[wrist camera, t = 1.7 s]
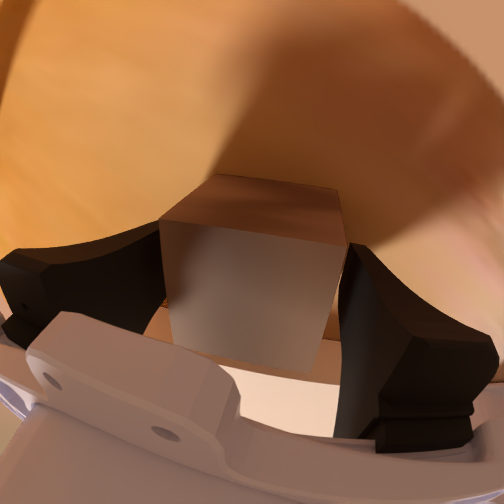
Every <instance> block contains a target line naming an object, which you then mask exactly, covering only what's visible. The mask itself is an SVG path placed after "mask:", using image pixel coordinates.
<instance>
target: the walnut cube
mask: <svg viewBox="0 0 504 504" xmlns="http://www.w3.org/2000/svg"><path fill="white" fill-rule="evenodd" d="M159 230H160V242H161V252H162V262H163V271H164V279H165V287H166V295H167V302H168V309H169V316H170V323H171V329H172V335H173V341H174V344H175V345H178V346H182V347H185V348H187V349H191V350H195V351H199V352H203V353H207V354H211V355H215V356H219V357H224V358H228V359H233V360H237V361H242V362H247V363H252V364H257V365H262V366H267V367H273V368H279V369H284V370H290V371H297V372H303V373H311V370H312V367H313V364H314V361H315V358H316V355H317V352H318V349H319V346H320V343H321V340H322V337H323V333H324V330H325V327H326V324H327V320H328V317H329V314H330V310H331V307H332V303H333V300H334V296H335V293H336V289H337V286H338V282H339V278H340V274H341V271H342V267H343V263H344V259H345V255H346V251H347V242H346V236H345V230H344V225H343V219H342V214H341V208H340V203H339V198H338V193H337V190H333V189H327V188H321V187H315V186H309V185H302V184H295V183H288V182H281V181H274V180H266V179H258V178H249V177H240V176H231V175H221V174H215V175H213V176H212V177H211V178H209V179H208V180H207V181H205V182H204V183H203V184H202V185H200V186H199V187H198V188H196V189H195V190H194V191H192V192H191V193H190V194H189V195H187V196H186V197H185V198H183V199H182V200H181V201H180V202H178V203H177V204H176V205H175V206H173V207H172V208H171V209H170V210H169V211H167V212H166V213H165V214H164V215H162V216H161V217H160V218H159Z"/></svg>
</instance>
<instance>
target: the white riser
mask: <svg viewBox="0 0 504 504" xmlns="http://www.w3.org/2000/svg"><path fill="white" fill-rule="evenodd" d="M143 335H144V336H147V337H151V338H154V339H157V340H161V341H164V342H168V343H171V344H174V341H173V335H172V329H171V323H170V316H169V309H168V308H164V307H159V309H158V310H157V311H156V313H155V314H154V316H153V317H152V319H151V321H150V322H149V324H148V326H147V328H146V330H145V332H144V334H143ZM189 350H191V349H189ZM192 351H194V352H196V353H199V354H201V355H203V356H206V357H208V358H211V359H212V360H213V361H214V362H215V363H216V364H218V365H219V366H220V367H221V368H222V369H224V370H225V371H226V372H227V373H228V374H230V375H231V376H232V377H233V378H234V380H235V383H236V385H237V388H238V390H239V393H240V395H241V404H240V414H241V416H243V417H246V418H249V419H251V420H254V421H257V422H260V423H263V424H265V425H268V426H271V427H274V428H277V429H280V430H283V431H287V432H290V433H295V434H303V435H311V436H320V437H331V438H332V437H333V432H334V426H335V420H336V413H337V406H338V398H339V388H340V377H341V363H342V354H341V341H333V340H326V339H322V340H321V343H320V346H319V349H318V352H317V355H316V358H315V361H314V364H313V367H312V370H311V373H303V372H297V371H290V370H284V369H279V368H273V367H267V366H262V365H257V364H252V363H247V362H242V361H237V360H233V359H228V358H224V357H219V356H215V355H211V354H207V353H203V352H199V351H195V350H192Z"/></svg>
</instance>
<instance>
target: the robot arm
mask: <svg viewBox="0 0 504 504" xmlns="http://www.w3.org/2000/svg"><path fill="white" fill-rule="evenodd" d="M0 286H1V289H2V291H3V293H4V296H5V298H6V300H7V302H8V305H9V307H10V309H11V311H12V313H13V314H12V315H11V316H10V317H9V318H8V319H7V320H5V318H4V316H3V314H2V313H1V312H0V401H1V402H2V403H3V404H4V405H5V406H6V407H7V408H9V409H10V410H11V411H12V412H13V413H14V414H15V415H16V416H18V417H19V418H20V419H21V420H22V421H23V422H22V424H21V425H20V427H19V428H18V430H17V431H16V433H15V434H14V436H13V437H12V439H11V441H10V442H9V444H8V445H7V447H6V449H5V450H4V451H3V453H2V455H1V456H0V504H504V383H490V381H491V380H492V378H493V377H494V375H495V374H496V371H497V369H498V366H499V355H498V353H497V350H496V348H495V346H494V343H493V341H492V339H491V337H490V336H489V335H487V334H485V333H482V332H480V331H478V330H475V329H473V328H471V327H468V326H466V325H464V324H462V323H460V322H458V321H457V320H455V319H453V318H451V317H449V316H448V315H446V314H444V313H442V312H441V311H439V310H438V309H436V308H435V307H433V306H432V305H430V304H429V303H427V302H426V301H424V300H423V299H422V298H420V297H419V296H418V295H417V294H415V293H414V292H413V291H412V290H410V289H409V288H408V287H407V286H406V285H404V284H403V283H402V282H401V281H400V280H399V279H398V278H397V277H396V276H395V275H394V274H393V273H392V272H391V271H390V270H389V269H388V268H387V267H386V266H385V265H384V264H383V263H382V262H381V261H380V260H379V259H378V258H377V257H376V255H375V254H374V253H373V252H372V251H371V250H370V249H369V248H368V247H366V246H365V245H360V244H354V243H350V245H349V249H348V253H347V257H346V261H345V265H344V269H343V273H342V276H341V280H340V284H339V294H338V314H339V326H340V338H341V354H342V363H341V377H340V388H339V398H338V406H337V413H336V420H335V426H334V432H333V437H332V438H331V437H320V436H311V435H303V434H295V433H290V432H287V431H283V430H280V429H277V428H274V427H271V426H268V425H265V424H263V423H260V422H257V421H254V420H251V419H249V418H246V417H243V416H241V414H240V404H241V395H240V393H239V390H238V388H237V385H236V383H235V380H234V378H233V377H232V376H231V375H230V374H228V373H227V372H226V371H225V370H224V369H222V368H221V367H220V366H219V365H218V364H216V363H215V362H214V361H213V360H212V359H211V358H208V357H206V356H203V355H201V354H199V353H196V352H194V351H192V350H189V349H187V348H185V347H182V346H178V345H175V344H171V343H168V342H164V341H161V340H157V339H154V338H151V337H147V336H144V335H143V334H144V332H145V330H146V328H147V326H148V324H149V322H150V321H151V319H152V317H153V316H154V314H155V313H156V311H157V310H158V309H159V307H160V306H161V304H162V303H163V301H164V300H165V299H166V297H167V295H166V287H165V279H164V271H163V262H162V252H161V242H160V230H159V220H157V221H154V222H151V223H148V224H145V225H142V226H140V227H137V228H134V229H131V230H128V231H125V232H122V233H119V234H116V235H113V236H110V237H106V238H103V239H99V240H95V241H91V242H86V243H80V244H75V245H69V246H61V247H52V248H27V249H21V248H18V249H15V250H13V251H12V252H10V253H9V254H8V255H6V256H5V257H4V258H2V259H1V260H0ZM489 383H490V384H489Z"/></svg>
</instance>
